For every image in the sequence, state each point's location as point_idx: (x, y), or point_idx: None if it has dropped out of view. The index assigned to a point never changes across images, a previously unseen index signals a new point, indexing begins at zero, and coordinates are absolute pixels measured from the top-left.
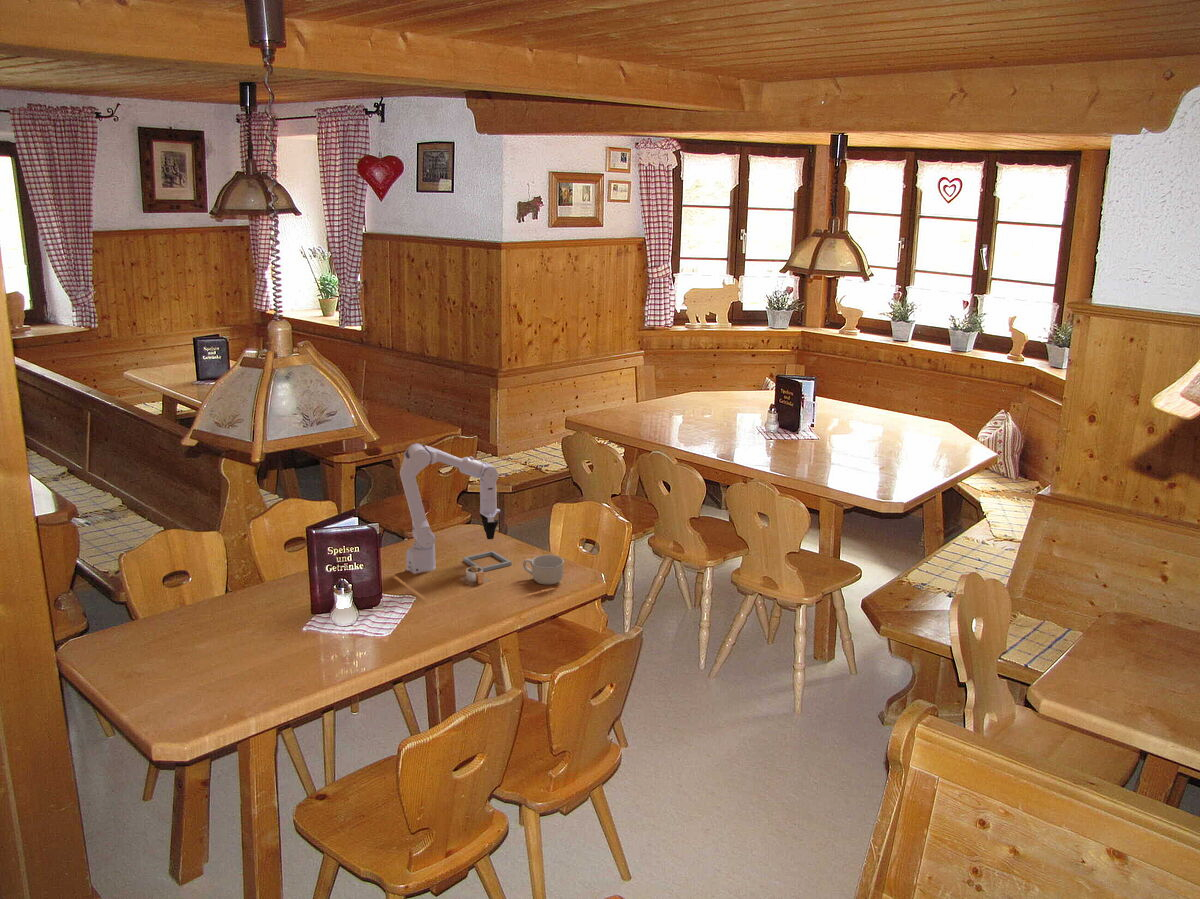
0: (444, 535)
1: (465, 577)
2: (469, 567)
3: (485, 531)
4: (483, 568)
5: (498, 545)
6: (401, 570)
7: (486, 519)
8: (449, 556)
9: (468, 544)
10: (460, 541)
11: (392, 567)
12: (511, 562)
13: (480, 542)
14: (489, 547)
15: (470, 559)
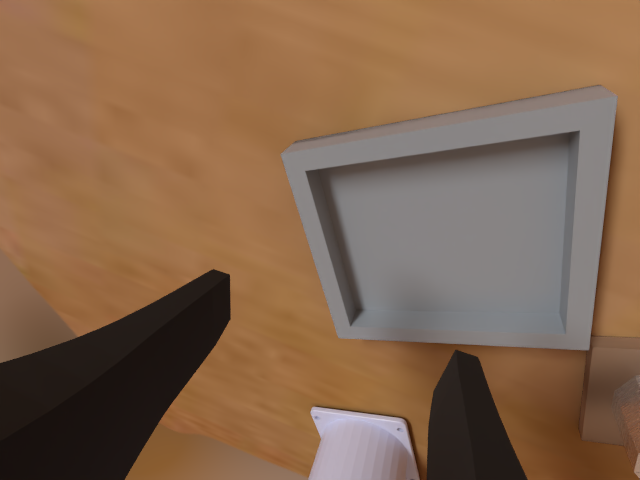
0: (16, 243)
1: (598, 418)
2: (636, 467)
3: (226, 320)
4: (590, 336)
5: (116, 35)
6: None
7: (124, 434)
8: (246, 323)
9: (106, 198)
10: (72, 215)
11: (301, 473)
12: (615, 95)
13: (75, 131)
14: (149, 109)
15: (348, 299)
